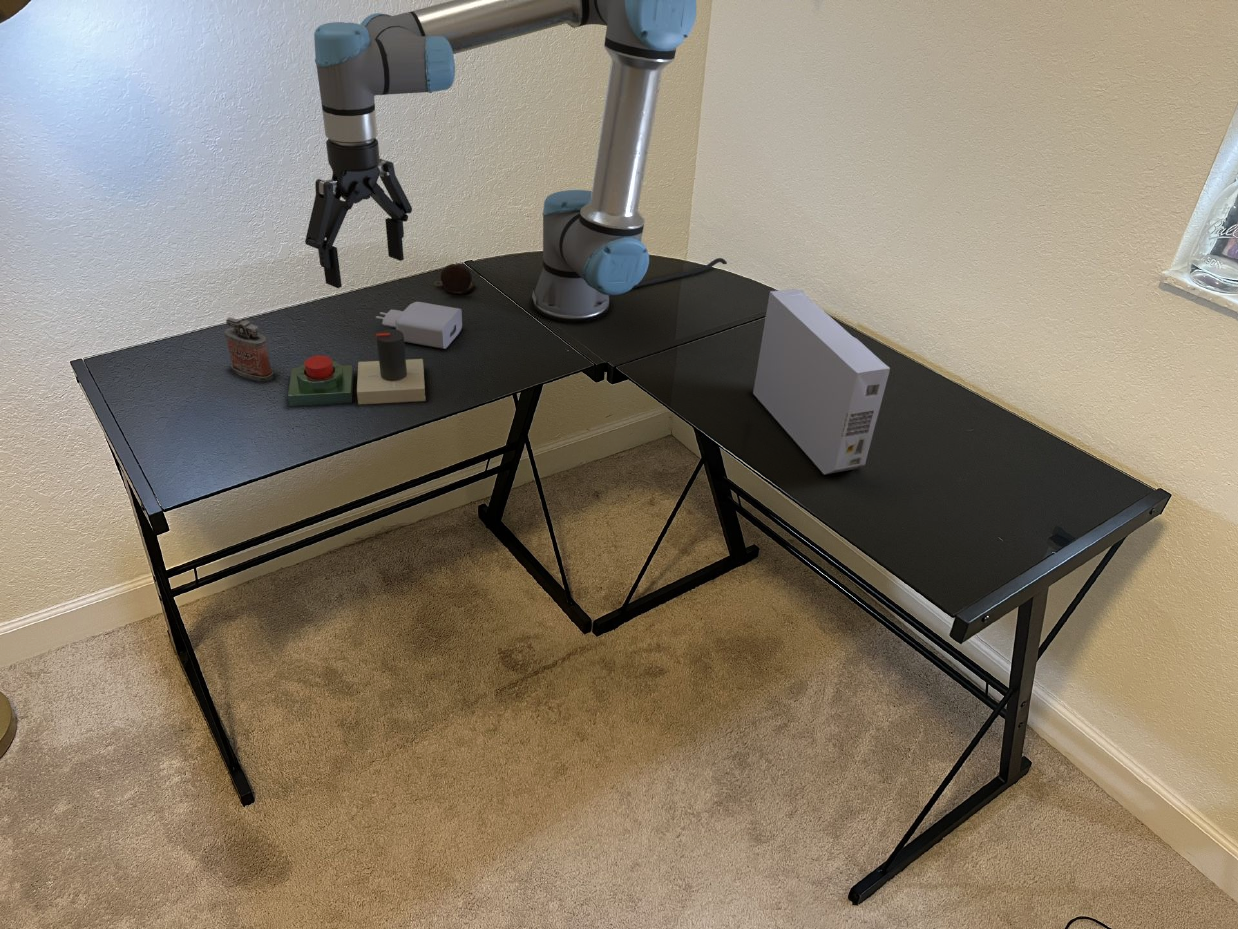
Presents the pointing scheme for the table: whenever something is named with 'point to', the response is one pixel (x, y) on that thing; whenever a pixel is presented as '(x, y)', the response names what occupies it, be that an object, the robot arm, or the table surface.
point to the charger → (426, 323)
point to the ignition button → (319, 367)
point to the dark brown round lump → (456, 279)
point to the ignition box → (321, 387)
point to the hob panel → (390, 384)
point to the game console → (818, 382)
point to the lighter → (248, 350)
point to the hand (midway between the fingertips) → (366, 271)
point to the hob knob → (391, 354)
